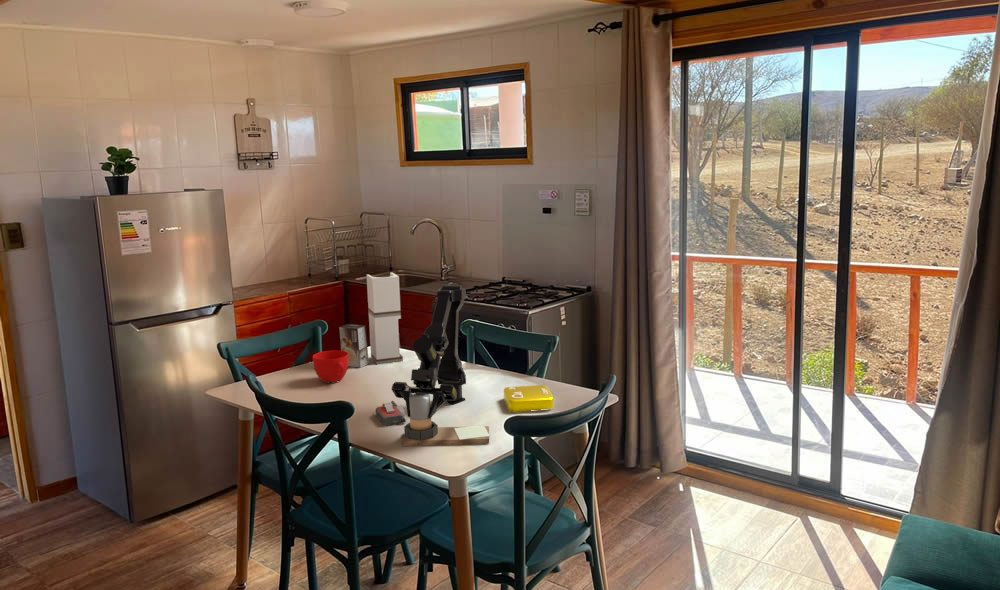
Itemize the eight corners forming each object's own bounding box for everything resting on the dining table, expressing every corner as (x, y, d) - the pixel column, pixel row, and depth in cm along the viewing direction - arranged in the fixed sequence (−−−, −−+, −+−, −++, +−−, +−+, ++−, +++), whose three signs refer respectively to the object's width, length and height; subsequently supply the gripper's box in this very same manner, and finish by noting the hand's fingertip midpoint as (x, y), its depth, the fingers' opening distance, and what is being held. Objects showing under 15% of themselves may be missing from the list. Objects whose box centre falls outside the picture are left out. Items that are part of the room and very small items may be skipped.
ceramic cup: (327, 390, 263) (325, 364, 261) (308, 380, 276) (307, 354, 274) (360, 383, 270) (358, 357, 268) (341, 373, 284) (339, 348, 282)
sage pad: (454, 428, 219) (454, 428, 219) (483, 425, 221) (483, 425, 221) (459, 439, 211) (459, 439, 211) (490, 436, 213) (490, 435, 213)
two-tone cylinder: (421, 426, 220) (420, 391, 218) (436, 431, 216) (434, 395, 214) (406, 432, 216) (404, 397, 213) (420, 438, 212) (419, 401, 209)
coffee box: (369, 363, 296) (367, 325, 293) (360, 368, 290) (358, 328, 287) (350, 361, 300) (347, 323, 297) (341, 366, 294) (338, 326, 291)
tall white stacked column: (402, 361, 299) (398, 276, 292) (377, 364, 295) (372, 278, 288) (396, 354, 309) (392, 272, 302) (371, 357, 305) (366, 274, 299)
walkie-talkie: (412, 424, 229) (395, 405, 247) (411, 410, 229) (394, 392, 247) (384, 428, 226) (369, 408, 244) (384, 415, 225) (369, 396, 243)
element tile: (554, 411, 238) (554, 397, 237) (509, 414, 237) (508, 400, 236) (546, 396, 253) (546, 383, 252) (503, 399, 251) (502, 385, 250)
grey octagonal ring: (422, 425, 223) (421, 417, 222) (444, 433, 216) (444, 424, 216) (397, 435, 216) (397, 426, 215) (420, 442, 209) (419, 434, 209)
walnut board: (402, 445, 211) (402, 441, 211) (406, 433, 221) (405, 428, 221) (489, 443, 212) (489, 438, 211) (489, 430, 221) (488, 426, 221)
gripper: (392, 355, 217) (380, 403, 209) (452, 358, 214) (443, 407, 205) (402, 373, 226) (391, 420, 218) (460, 376, 223) (452, 423, 214)
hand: (419, 417), depth 214 cm, fingers closed on two-tone cylinder, 6 cm apart
